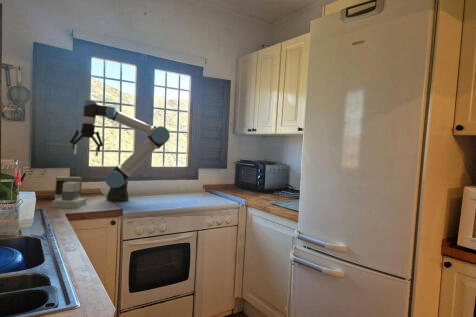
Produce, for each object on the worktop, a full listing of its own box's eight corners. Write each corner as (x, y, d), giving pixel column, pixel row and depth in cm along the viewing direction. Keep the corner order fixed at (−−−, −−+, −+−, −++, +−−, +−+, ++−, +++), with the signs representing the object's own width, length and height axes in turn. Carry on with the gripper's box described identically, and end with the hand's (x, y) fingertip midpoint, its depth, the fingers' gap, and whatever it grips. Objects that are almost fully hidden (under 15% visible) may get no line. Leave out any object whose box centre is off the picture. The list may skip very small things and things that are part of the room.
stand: (86, 204, 192) (86, 197, 192) (77, 208, 177) (77, 202, 177) (62, 202, 190) (63, 196, 190) (51, 207, 174) (51, 200, 174)
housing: (72, 200, 179) (73, 184, 179) (61, 200, 178) (63, 183, 178) (79, 197, 191) (81, 182, 191) (69, 197, 190) (70, 181, 190)
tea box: (78, 197, 214) (80, 176, 214) (80, 199, 205) (82, 178, 205) (54, 197, 205) (56, 175, 205) (54, 199, 197) (56, 177, 197)
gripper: (109, 126, 207) (106, 156, 207) (70, 122, 203) (67, 153, 203) (106, 125, 199) (103, 157, 200) (66, 120, 195) (63, 153, 195)
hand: (85, 155), depth 201 cm, fingers open, 13 cm apart
